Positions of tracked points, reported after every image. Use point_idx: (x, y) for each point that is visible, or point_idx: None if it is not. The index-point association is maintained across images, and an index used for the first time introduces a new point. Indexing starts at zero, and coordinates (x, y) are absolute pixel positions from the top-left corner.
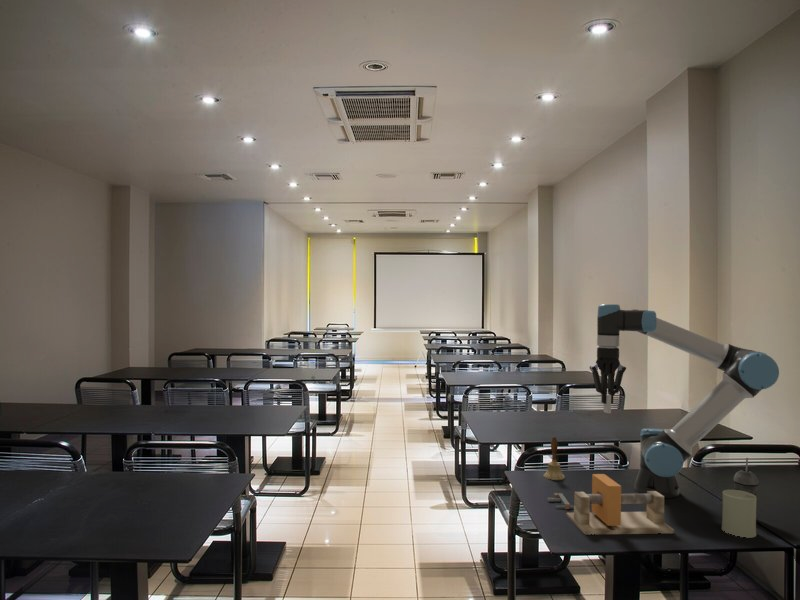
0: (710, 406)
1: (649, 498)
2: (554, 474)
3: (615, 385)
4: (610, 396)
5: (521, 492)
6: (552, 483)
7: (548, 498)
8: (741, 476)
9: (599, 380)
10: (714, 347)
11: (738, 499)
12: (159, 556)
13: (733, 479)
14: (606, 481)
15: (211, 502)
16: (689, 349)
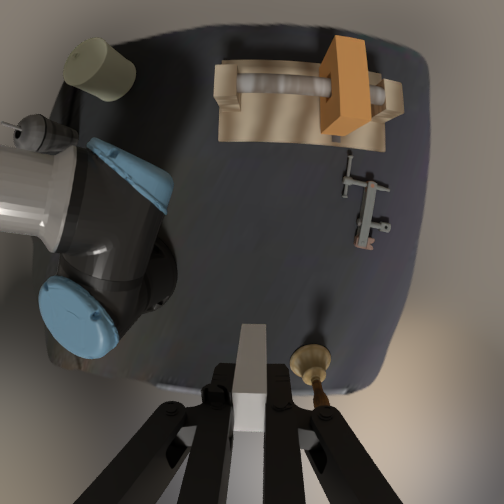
0: None
1: (246, 73)
2: (318, 354)
3: (164, 465)
4: (238, 385)
5: (410, 278)
6: (332, 326)
7: (389, 227)
8: (33, 122)
9: (358, 490)
10: None
11: (102, 39)
12: None
13: (40, 144)
14: (357, 65)
15: None
16: None
